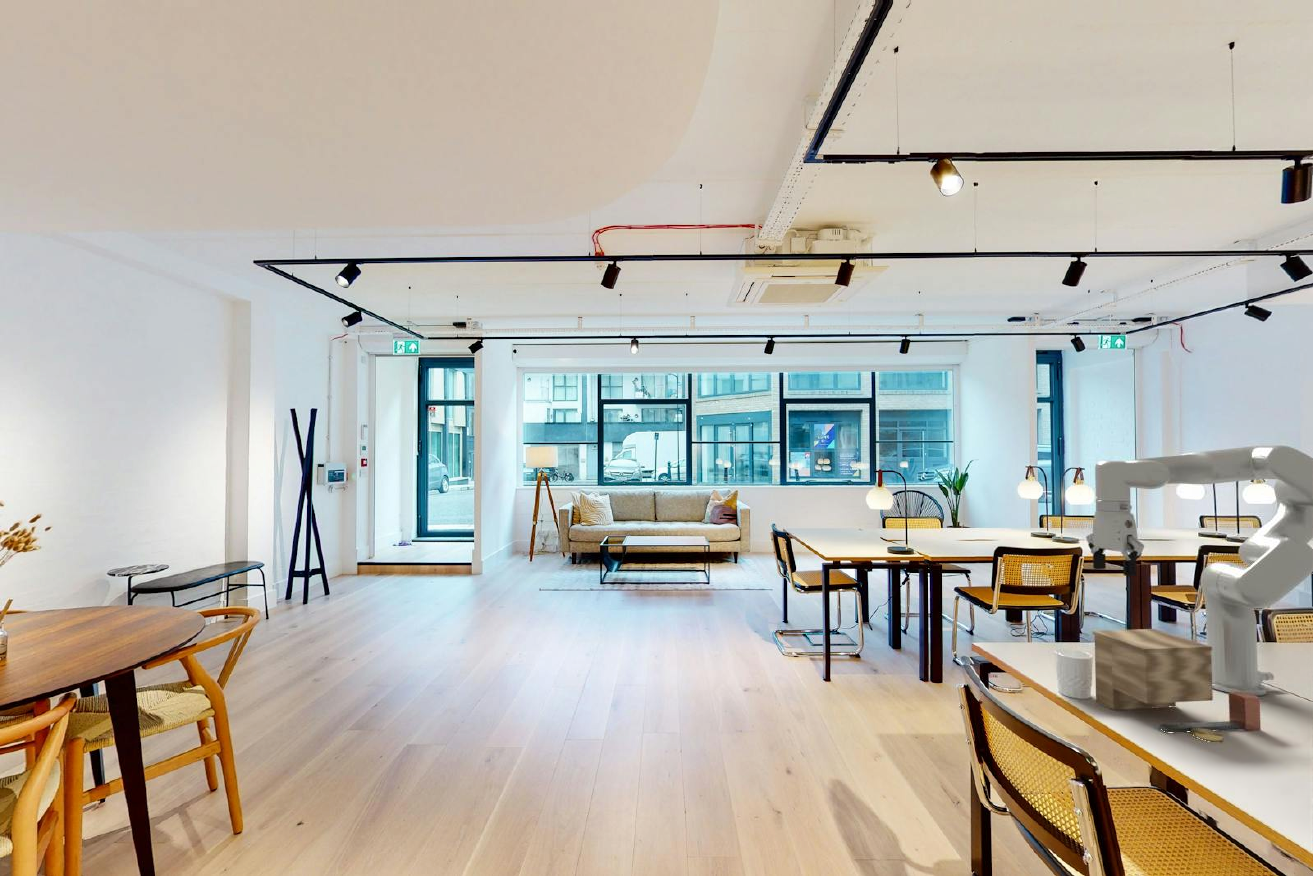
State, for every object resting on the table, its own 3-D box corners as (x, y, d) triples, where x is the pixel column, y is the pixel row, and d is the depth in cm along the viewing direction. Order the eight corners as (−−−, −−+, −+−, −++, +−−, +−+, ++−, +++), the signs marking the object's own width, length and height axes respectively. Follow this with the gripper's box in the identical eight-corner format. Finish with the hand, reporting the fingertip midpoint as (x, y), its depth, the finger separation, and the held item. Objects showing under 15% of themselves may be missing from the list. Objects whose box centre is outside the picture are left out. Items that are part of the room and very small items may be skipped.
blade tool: (1243, 723, 139) (1243, 691, 139) (1260, 730, 135) (1259, 697, 135) (1155, 727, 137) (1155, 695, 137) (1170, 734, 133) (1169, 701, 133)
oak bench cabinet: (1156, 698, 153) (1154, 628, 153) (1214, 723, 139) (1212, 646, 139) (1093, 701, 151) (1092, 630, 152) (1146, 726, 137) (1144, 649, 138)
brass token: (1205, 732, 135) (1205, 727, 135) (1229, 743, 130) (1229, 737, 130) (1184, 734, 134) (1184, 728, 134) (1207, 744, 129) (1207, 738, 129)
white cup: (1099, 701, 151) (1099, 659, 151) (1063, 699, 153) (1062, 657, 153) (1084, 689, 159) (1083, 649, 159) (1050, 687, 160) (1049, 647, 161)
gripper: (1154, 510, 159) (1156, 578, 158) (1099, 504, 176) (1100, 566, 175) (1127, 510, 158) (1129, 578, 157) (1075, 505, 175) (1076, 566, 174)
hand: (1114, 572), depth 166 cm, fingers open, 9 cm apart
